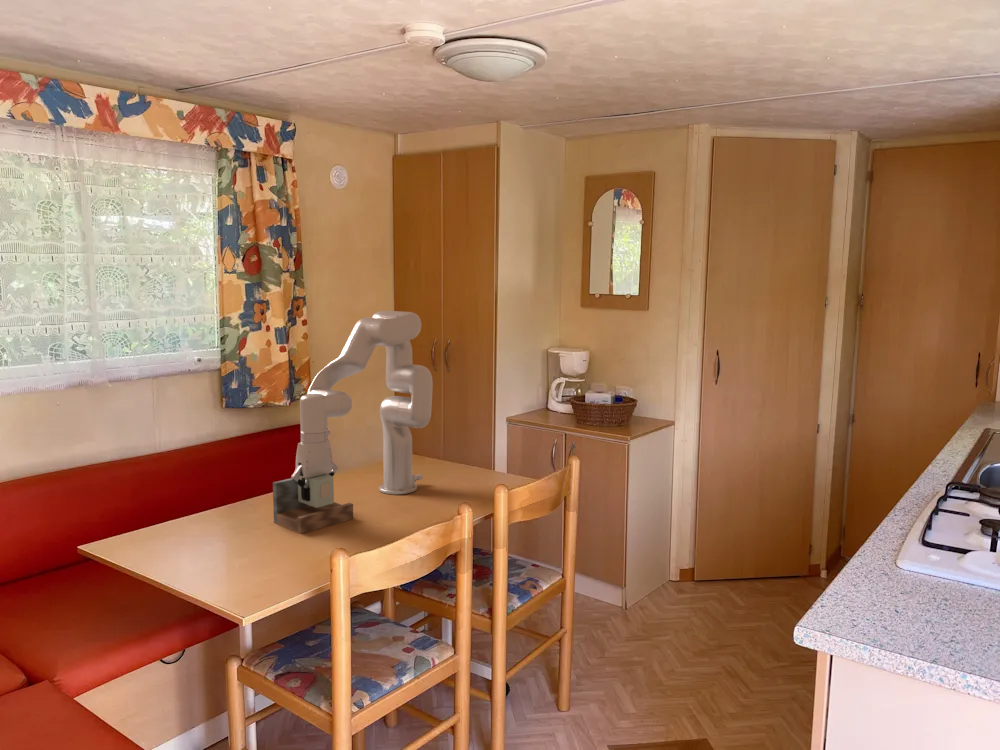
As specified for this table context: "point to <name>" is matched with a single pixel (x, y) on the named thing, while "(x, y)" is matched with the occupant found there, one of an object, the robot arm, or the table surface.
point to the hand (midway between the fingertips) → (315, 497)
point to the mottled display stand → (304, 510)
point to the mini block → (319, 491)
